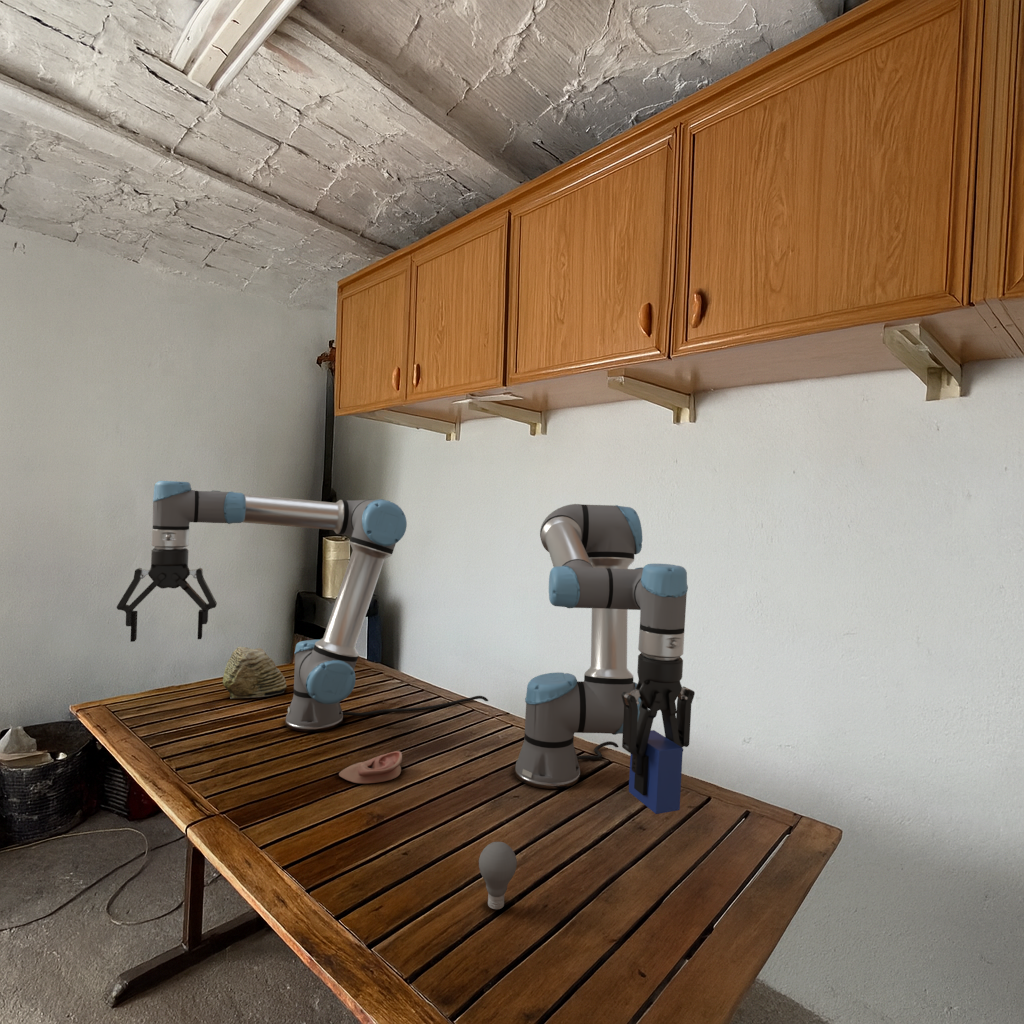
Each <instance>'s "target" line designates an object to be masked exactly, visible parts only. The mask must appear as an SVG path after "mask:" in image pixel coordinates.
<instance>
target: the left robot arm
mask: <svg viewBox="0 0 1024 1024" xmlns="http://www.w3.org/2000/svg"><path fill="white" fill-rule="evenodd" d="M407 522H408V521H407V517H406V515H405V512H404V511H403V509H402V507H400V506H399V505H398V504H396V503H395V502H393V501H390V500H386V499H383V498H381V499H375V498H373V499H372V498H370V499H357V500H355V499H354V500H349V499H347V500H346V499H339V500H338V501H336V502H330V501H322V500H321V501H320V500H312V499H310V500H309V499H301V498H291V497H290V498H289V497H282V496H281V497H279V496H269V495H259V494H250V493H249V494H248V493H242V492H235V491H221V490H195V489H192V486H191V483H190V482H189V481H177V480H176V481H175V480H158V481H157V482H155V484H154V487H153V498H152V531H151V546H152V547H154V548H152V549H151V556H150V558H151V559H150V568H149V569H143V568H141V567H138V568H136V569H135V570H134V574H133V579H132V580H131V582H130V583H129V585H128V587H127V589H126V591H125V592H124V594H123V595H122V597H121V599H120V600H119V602H118V604H116V609H117V610H119V611H122V612H125V626H126V627H130V642H132V643H133V642H136V641H137V637H138V636H137V634H138V610H135V609H136V607H137V606H138V605H140V604H141V602H143V601H144V600H145V598H146V597H148V596H149V595H150V593H152V591H153V590H155V589H156V587H157V588H160V589H168V588H169V589H177V588H181V589H182V590H183V591H184V592H185V593H186V594H187V595H188V596H189V597H190V599H192V601H194V603H195V604H196V605H197V606H198V607H199V608H200V609H199V610H198V611H197V612H198V613H197V618H198V619H197V640H202V637H203V627H204V625H207V624H208V622H209V610H212V609H215V608H216V607H217V605H218V603H217V601H216V598H215V597H214V595H213V593H212V590H211V589H210V587H209V585H208V583H207V581H206V580H205V578H204V571H203V568H202V567H198V568H195V569H190V568H189V549H188V548H187V547H188V546H189V545H190V523H206V524H227V525H231V524H241V523H243V524H244V523H245V524H256V525H257V524H258V525H267V526H269V525H270V526H281V527H293V528H304V529H305V528H306V529H318V530H327V531H328V530H331V531H334V533H335V534H336V535H345V536H350V539H349V542H348V543H349V544H350V547H351V549H352V552H351V555H350V557H349V560H348V563H347V566H346V570H345V572H344V575H343V578H342V581H341V584H340V587H339V591H338V592H337V597H336V599H335V602H334V605H333V608H332V611H331V614H330V616H329V620H328V623H327V625H326V628H325V630H324V631H325V632H324V634H323V637H322V638H320V639H307V640H302V641H299V642H297V643H296V644H295V648H294V649H295V650H294V672H293V673H294V674H293V675H294V676H293V678H294V679H293V695H292V696H293V697H292V699H291V702H290V704H289V706H288V707H287V713H286V715H285V726H286V728H287V729H289V730H291V731H294V732H295V731H296V732H301V733H316V732H325V731H329V730H332V729H335V728H337V727H339V726H340V725H342V723H343V722H344V716H349V717H352V716H353V717H366V716H367V717H368V716H372V715H377V714H384V713H386V714H387V713H407V712H418V711H429V710H434V709H440V708H444V707H445V708H446V707H449V706H453V705H457V704H460V703H465V702H471V701H474V700H483V701H484V702H489V699H488V697H486V696H483V695H476V696H471V697H465V698H460V699H457V700H453V701H448V702H445V703H440V704H434V705H427V706H420V707H407V708H386V709H377V710H371V711H365V712H352V711H343V709H342V706H341V702H342V701H344V700H345V699H347V698H348V697H349V696H350V695H351V693H352V692H353V690H354V689H355V686H356V673H355V669H356V665H357V662H358V659H359V655H360V653H359V651H358V650H357V643H358V640H359V637H360V634H361V632H362V628H363V625H364V622H365V619H366V616H367V614H368V610H369V607H370V604H371V601H372V599H373V596H374V592H375V589H376V586H377V583H378V580H379V577H380V574H381V571H382V568H383V565H384V562H385V560H386V559H389V558H390V557H392V556H393V553H394V550H395V547H396V544H397V543H399V541H401V539H402V538H403V537H404V536H405V533H406V531H407V527H408V525H407V524H408V523H407ZM190 575H191V576H192V578H193V579H196V581H197V583H198V585H199V587H200V589H201V590H202V593H203V595H204V597H205V598H206V600H207V602H208V603H207V602H206V601H205V600H204V599H203V598H202V597H201V595H199V593H197V591H196V590H195V589H194V588H193V587H192V586H191V585H190V583H189V582H188V581H187V579H188V578H189V576H190ZM146 576H149V578H150V579H151V580H152V582H151V583H150V584H149V585H148V586H147V587H145V589H144V590H143V591H142V592H141V593H140V594H139V595H138V596H137V597H136V598H135V599H134V600H133V601H132V602H131V603H130V604H128V602H129V600H130V599H131V597H132V595H133V593H134V592H135V590H136V588H137V587H138V586H139V584H140V582H141V580H143V579H144V578H146Z"/></svg>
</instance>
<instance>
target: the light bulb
mask: <svg viewBox="0 0 1024 1024" xmlns="http://www.w3.org/2000/svg"><path fill="white" fill-rule="evenodd" d="M517 865H518V860H517V856H516V854H515V851H514V849H513V848H512V847H511V846H510V845H509V844H507V843H506V842H503V841H493V842H491V843H488V844H487V845H486V846H485V847H484V848H483V850H482V851H481V852H480V855H479V857H478V869H479V872H480V875H481V877H482V879H483V881H484V883H485V889H486V891H487V895H488V896H487V906H488V907H489V908H490V909H493V910H500V909H502V908H503V907H504V906H505V895H506V893H507V890H508V886H509V883H510V881H512V878H513V877H514V876H515V873H516V870H517Z"/></svg>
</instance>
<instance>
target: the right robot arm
mask: <svg viewBox="0 0 1024 1024" xmlns="http://www.w3.org/2000/svg"><path fill="white" fill-rule="evenodd" d="M642 528H643V527H642V523H641V519H640V516H639V515H638V512H637V511H636V510H635V509H634V508H632V507H631V506H624V505H623V506H622V505H618V504H615V505H614V504H613V505H611V504H609V505H608V504H581V503H571V504H566V505H563V506H561V507H558V508H557V509H555V510H553V511H552V512H550V513H549V514H548V515H547V516H546V517H545V518H544V520H543V521H542V524H541V526H540V529H539V536H540V537H539V538H540V541H541V545H542V547H543V548H544V550H545V551H546V552H548V554H549V557H550V560H551V563H552V568H551V569H550V571H549V578H548V599H549V602H550V604H551V605H552V606H554V607H559V608H567V609H591V629H590V630H591V634H590V635H591V638H590V666H589V668H588V669H586V671H584V675H583V678H584V679H583V681H582V680H581V681H578V679H577V677H576V676H575V675H574V674H572V673H568V672H566V673H565V672H548V673H543V674H540V675H539V674H538V675H537V676H535V677H532V678H531V679H530V680H529V682H528V683H527V686H526V694H525V698H524V702H525V719H524V720H525V721H524V734H523V735H524V740H523V743H522V746H521V748H520V751H519V754H518V756H517V760H516V762H515V767H514V774H515V777H516V778H517V779H518V780H519V781H520V782H522V783H524V784H526V785H528V786H531V787H534V788H539V789H545V790H557V789H559V790H560V789H565V788H569V787H572V786H574V785H576V784H577V783H579V781H580V778H581V768H580V763H579V761H581V760H594V761H595V760H601V759H602V758H603V754H602V753H601V751H599V750H600V749H601V748H603V747H607V746H612V747H614V748H619V747H620V746H619V744H618V743H617V742H614V741H604V742H602V743H600V744H598V745H596V746H594V748H593V751H594V753H595V754H596V755H577V753H576V749H575V745H574V744H575V743H574V741H575V740H574V738H575V734H576V733H578V734H610V735H614V736H615V735H618V734H619V735H621V734H622V739H621V740H622V741H621V747H622V749H624V750H625V751H626V752H628V753H629V754H630V755H631V754H632V771H633V772H634V773H635V781H634V789H636V790H637V791H638V792H639V793H641V794H642V795H647V780H648V760H649V757H648V756H647V755H645V751H646V747H647V743H648V739H649V735H650V731H651V730H652V728H653V727H652V726H653V722H654V719H655V718H656V717H657V716H658V711H660V712H661V718H662V719H661V720H662V725H663V730H664V737H666V738H668V739H669V740H671V741H672V742H674V743H676V744H677V745H679V746H681V747H682V748H688V747H689V746H690V742H691V741H690V740H691V721H692V720H691V719H692V717H691V716H692V704H693V700H694V698H695V694H696V692H695V691H694V690H693V689H690V688H688V687H686V686H682V684H681V680H682V679H683V670H684V669H683V668H684V659H683V658H682V656H683V655H684V651H685V649H684V648H685V630H686V629H685V628H686V614H687V613H686V612H687V611H686V610H687V595H688V590H689V586H688V571H687V569H686V568H685V567H684V566H681V565H676V564H671V563H647V564H645V565H644V566H643V567H641V566H640V567H635V568H629V567H630V566H631V565H632V564H634V562H635V555H637V554H640V553H641V551H642V548H643V544H642V543H643V529H642ZM628 610H629V611H630V610H631V611H640V613H639V632H638V647H637V649H638V652H640V653H639V654H638V655H637V669H636V670H637V677H638V678H637V679H638V681H637V682H635V681H634V674H633V673H632V672H631V671H630V670H629V668H628V613H629V612H628Z"/></svg>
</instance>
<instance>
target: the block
mask: <svg viewBox="0 0 1024 1024" xmlns="http://www.w3.org/2000/svg"><path fill="white" fill-rule="evenodd" d="M683 752H684V747H681V746H679V745H677V744H676V743H674V742H672V741H671V740H669V739H668V738H666V737H665V735H662V734H661V733H659V732H657V731H656V730H655V729H651V731H650V735H649V739H648V743H647V747H646V751H645V755H647V756H648V757H649V760H648V780H647V795H642V794H641V793H639V792H638V791H637V790H636V789H634V781H635V773H634V772H633V771H632V754H631V753H630V756H629V757H630V758H629V775H628V793H630V794H631V795H632V796H633V797H635V798H636V799H637V800H638V801H639V802H641V804H643V805H644V806H645V807H646V808H648V809H649V810H650V811H651V812H653V813H654V814H655V815H660V814H665V813H666V814H667V813H671V812H678V811H680V810H681V791H682V775H683V773H682V771H683V770H682V769H683Z"/></svg>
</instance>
